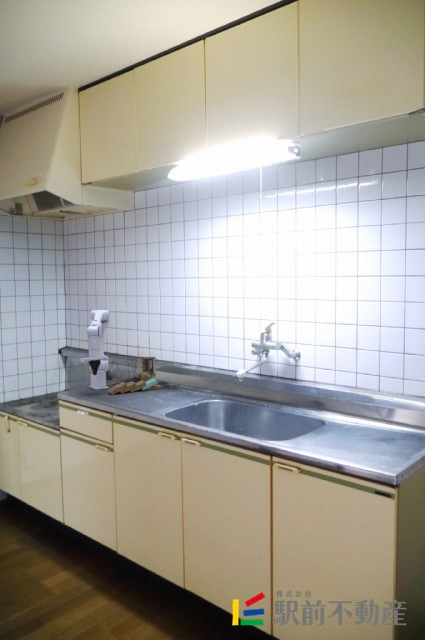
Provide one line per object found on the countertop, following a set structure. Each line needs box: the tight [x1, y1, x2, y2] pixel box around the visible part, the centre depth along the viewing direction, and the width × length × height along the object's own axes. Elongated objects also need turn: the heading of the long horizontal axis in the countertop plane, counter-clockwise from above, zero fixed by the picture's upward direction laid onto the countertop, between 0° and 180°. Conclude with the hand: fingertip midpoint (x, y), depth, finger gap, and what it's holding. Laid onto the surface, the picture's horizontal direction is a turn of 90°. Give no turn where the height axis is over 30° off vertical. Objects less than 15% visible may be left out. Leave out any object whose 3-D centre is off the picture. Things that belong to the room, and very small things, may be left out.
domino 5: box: [144, 384, 163, 391], centre depth 281 cm, size 2×5×9 cm
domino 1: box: [107, 381, 127, 396], centre depth 270 cm, size 2×5×9 cm
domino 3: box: [127, 380, 146, 393], centre depth 275 cm, size 2×5×9 cm
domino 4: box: [139, 378, 159, 391], centre depth 279 cm, size 2×5×9 cm
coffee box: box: [137, 356, 157, 385], centre depth 289 cm, size 9×6×16 cm
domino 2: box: [118, 381, 137, 395], centre depth 273 cm, size 2×5×9 cm
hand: (94, 374), depth 266 cm, fingers closed
